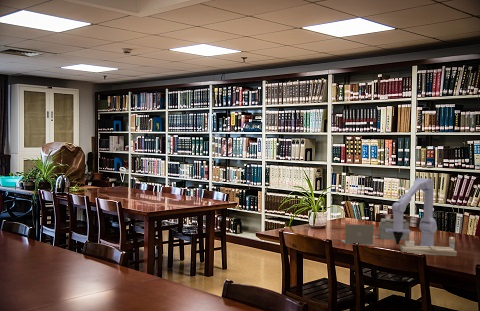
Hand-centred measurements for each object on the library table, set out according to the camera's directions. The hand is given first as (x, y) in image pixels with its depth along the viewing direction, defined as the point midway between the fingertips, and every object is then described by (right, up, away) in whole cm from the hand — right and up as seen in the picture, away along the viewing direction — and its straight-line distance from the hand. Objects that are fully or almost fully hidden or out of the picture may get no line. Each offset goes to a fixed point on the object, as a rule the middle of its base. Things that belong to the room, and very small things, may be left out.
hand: (397, 244), depth 313 cm
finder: (+7, -1, -1) cm, 7 cm away
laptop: (-20, -3, +21) cm, 29 cm away
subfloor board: (+16, -4, -6) cm, 18 cm away
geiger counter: (+6, -3, +35) cm, 35 cm away
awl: (+34, -4, +2) cm, 34 cm away
